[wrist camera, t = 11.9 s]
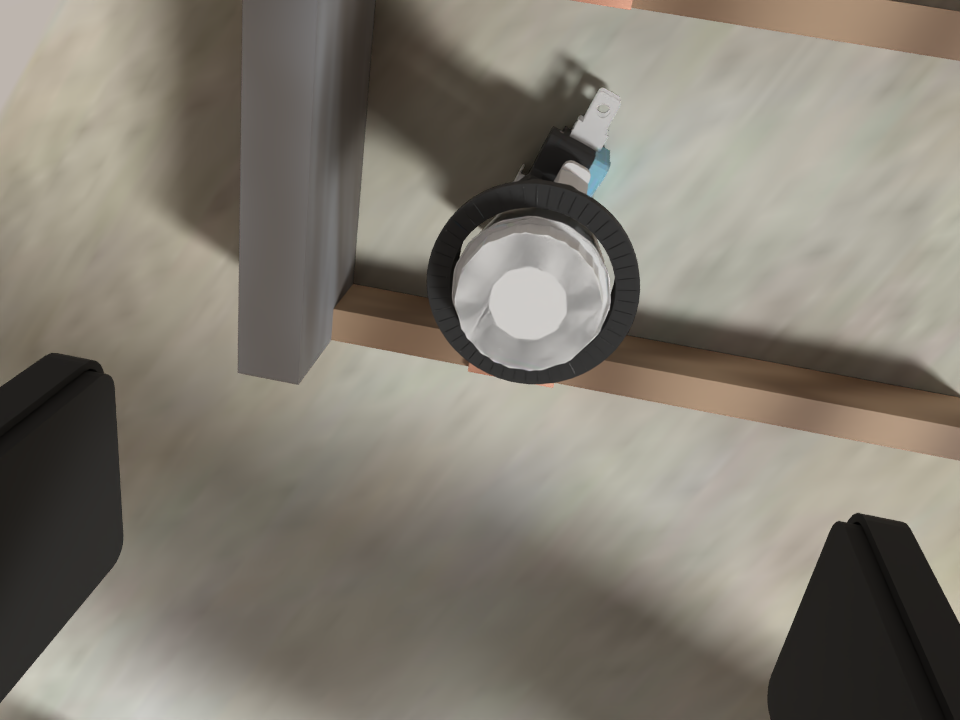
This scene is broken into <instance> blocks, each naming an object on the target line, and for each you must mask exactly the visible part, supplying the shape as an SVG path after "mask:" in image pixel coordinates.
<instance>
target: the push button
mask: <svg viewBox="0 0 960 720" xmlns="http://www.w3.org/2000/svg"><path fill="white" fill-rule="evenodd" d="M620 101H621V99H620V96H618V95H616V94H615V93H613V92H611V91H609V90H607V89H606V88H604V87H602V88H599V90H598V92H597V93H596V95H595V97H594V99H593V101H592V102H591V104H590V106H589V108H588V110H587V112H586V113H585V115H584V116H582V115H579V116H578V118H577V120H576V122H575V124H574V126H573V127H572V129H570V128H568V127H566V126H565V128H564V129H563V131H561V130H560V129H558V128H556V127H553V128H552V129H551V131H550V133H549V135H548V137H547V139H546V140H545V142H544V144H543V146H542V148H541V150H540V152H539V154H538V156H537V158H536V160H535V162H534V164H533V166H532V168H531V170H530V172H529V174H528V175H526V176H525V175H524V174H522V171H523V168H524V166H525V164H523V165H522V166H521V168H520V170H519V172H518V174H517V176H516V178H515V179H514V181H513V182H510V183H505V184H502V185H499V186H495V187H493V188H490V189H488V190H486V191H484V192H482V193H480V194H478V195H476V196H475V197H473V198H472V199H470V200H469V201H468V202H466V203H465V204H464V205H463V206H462V207H460V208H459V209H458V210H457V211H456V212H455V213H454V215H453V216H452V217H451V218H450V219H449V221H448V222H447V223H446V225H445V226H444V228H443V229H442V231H441V233H440V234H439V236H438V238H437V240H436V242H435V244H434V247H433V249H432V252H431V256H430V259H429V264H428V271H427V293H428V298H429V304H430V307H431V311H432V314H433V316H434V319H435V321H436V323H437V325H438V327H439V329H440V331H441V332H442V334H443V335H444V337H445V338H446V340H447V341H448V342H449V344H450V345H451V346H452V347H453V348H454V349H455V350H456V351H457V352H458V353H459V354H460V355H461V356H462V357H463V358H464V359H466V360H467V361H468V362H469V363H471V364H472V365H474V366H475V367H477V368H478V369H480V370H482V371H484V372H486V373H488V374H490V375H493V376H495V377H497V378H500V379H504V380H507V381H511V382H516V383H523V384H549V383H556V382H561V381H565V380H568V379H572V378H574V377H577V376H579V375H582V374H584V373H586V372H588V371H590V370H592V369H593V368H595V367H596V366H598V365H599V364H601V363H602V362H603V361H604V360H605V359H607V358H608V357H609V356H610V355H611V354H612V353H613V352H614V351H615V350H616V349H617V348H618V346H619V345H620V344H621V342H622V341H623V340H624V338H625V336H626V335H627V333H628V332H629V329H630V327H631V325H632V323H633V321H634V318H635V315H636V312H637V307H638V303H639V295H640V277H639V269H638V263H637V259H636V254H635V252H634V249H633V246H632V244H631V242H630V240H629V238H628V236H627V234H626V232H625V231H624V229H623V228H622V226H621V224H620V223H619V222H618V221H617V220H616V218H615V217H614V216H613V215H612V214H611V213H610V212H609V211H608V210H607V209H606V208H605V207H604V206H602V205H601V204H600V203H599V202H597V201H596V200H594V199H593V198H591V197H592V196H593V194H594V192H595V190H596V189H597V187H598V186H600V184H601V182H602V181H603V179H604V177H605V175H606V174H607V172H608V170H609V167H610V151H609V150H608V149H606V148H604V147H603V145H604V144H605V142H606V140H607V138H608V137H609V136H608V135H607V133H608V131H609V130H607V129H608V127H609V125H610V124H611V122H612V120H613V118H614V117H615V115H616V113H617V111H618V109H619V108H620V106H621V102H620ZM602 104H605V105H607V106H608V107H609V110H608V111H607V112H605V113H603V112H600V111H599V110H598V109H597V108H598V106H599V105H602ZM495 215H496V216H495ZM493 216H495V217H494V219H493V220H492V221H491V222H490V223H489V224H488V225H487V226H486V227H485V228H484V229H483V230H482V231H481V232H480V233H479V234H478V235H477V236H475V237H474V238H473V239H472V240H471V241H470V242H469V243H468V245H467V246H466V248H465V250H464V252H463V253H462V255H461V257H460V252H461V247H462V244H463V241H464V240H465V238H466V237H467V236H468V235H469V234H470V233H471V231H473V230H474V229H475V228H476V227H477V226H478V225H480V224H481V223H483V222H484V221H486V220H487V219H489V218H491V217H493ZM597 239H598V240H599V241H600V243H601V244H602V246H603V247H604V248H605V250H606V252H607V254H608V256H609V258H610V261H611V263H612V266H613V270H614V275H615V280H614V285H613V288H612V292H611V294H610V278H609V274H608V270H607V268H606V266H605V265H604V259H603V256H602V253H601V250H600V247H599V244H598V241H597Z"/></svg>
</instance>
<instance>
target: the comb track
mask: <svg viewBox="0 0 960 720" xmlns="http://www.w3.org/2000/svg"><path fill="white" fill-rule="evenodd" d="M572 1H578V2H585V3H591V4H597V5H603V6H609V7H615V8H622V9H628V10H631V8H637V9H643V10H650V11H656V12H662V13H668V14H674V15H680V16H687V17H693V18H699V19H705V20H711V21H717V22H724V23H730V24H736V25H742V26H748V27H754V28H761V29H767V30H773V31H779V32H785V33H791V34H798V35H804V36H810V37H816V38H822V39H829V40H835V41H841V42H847V43H853V44H859V45H866V46H872V47H878V48H884V49H890V50H896V51H903V52H909V53H915V54H921V55H927V56H933V57H940V58H946V59H952V60H958V61H960V11H953V10H947V9H941V8H934V7H928V6H922V5H916V4H909V3H903V2H897V1H890V0H572ZM374 12H375V0H243V7H242V84H241V160H240V237H239V314H238V373H241V374H246V375H251V376H256V377H261V378H267V379H272V380H277V381H282V382H287V383H292V384H297V385H299V383H300V382H301V380H302V379H303V378H304V376H305V375H306V374H307V372H308V371H309V370H310V368H311V367H312V365H313V364H314V363H315V361H316V360H317V359H318V357H319V356H320V354H321V353H322V352H323V350H324V349H325V348H326V346H327V345H328V344H329V342H330V341H331V340H335V341H340V342H345V343H351V344H356V345H361V346H366V347H371V348H377V349H382V350H387V351H392V352H397V353H403V354H408V355H413V356H418V357H423V358H429V359H434V360H439V361H444V362H449V363H455V364H460V365H465V366H469V368H468V371H469V372H474V373H479V374H484V375H489V376H493V375H490V374H488V373H486V372H484V371H482V370H480V369H478V368H477V367H475V366H474V365H472V364H471V363H469V362H468V361H467V360H466V359H464V358H463V357H462V356H461V355H460V354H459V353H458V352H457V351H456V350H455V349H454V348H453V347H452V346H451V345H450V344H449V342H448V341H447V340H446V338H445V337H444V335H443V334H442V332H441V331H440V329H439V327H438V325H437V323H436V321H435V319H434V316H433V314H432V311H431V307H430V304H429V298H426V297H420V296H415V295H410V294H404V293H399V292H394V291H388V290H383V289H378V288H372V287H367V286H362V285H356V284H353V279H354V267H355V254H356V241H357V228H358V216H359V203H360V190H361V177H362V165H363V152H364V139H365V127H366V114H367V101H368V88H369V76H370V63H371V50H372V37H373V25H374ZM556 383H559V384H564V385H569V386H574V387H580V388H585V389H590V390H595V391H600V392H606V393H611V394H616V395H621V396H626V397H632V398H637V399H642V400H647V401H652V402H658V403H663V404H668V405H673V406H678V407H684V408H689V409H694V410H699V411H704V412H710V413H715V414H720V415H725V416H730V417H736V418H741V419H746V420H751V421H756V422H762V423H767V424H772V425H777V426H782V427H788V428H793V429H798V430H803V431H808V432H814V433H819V434H824V435H829V436H834V437H840V438H845V439H850V440H855V441H861V442H866V443H871V444H876V445H881V446H887V447H892V448H897V449H902V450H907V451H913V452H918V453H923V454H928V455H933V456H939V457H944V458H949V459H954V460H959V461H960V398H959V397H954V396H948V395H943V394H938V393H932V392H927V391H922V390H916V389H911V388H906V387H900V386H895V385H890V384H884V383H879V382H874V381H868V380H863V379H858V378H852V377H847V376H842V375H836V374H831V373H826V372H820V371H815V370H810V369H804V368H799V367H794V366H788V365H783V364H778V363H772V362H767V361H762V360H756V359H751V358H746V357H740V356H735V355H730V354H724V353H719V352H714V351H708V350H703V349H698V348H692V347H687V346H682V345H676V344H671V343H666V342H660V341H655V340H650V339H644V338H639V337H634V336H628V335H626V336H625V338H624V340H623V341H622V342H621V344H620V345H619V346H618V348H617V349H616V350H615V351H614V352H613V353H612V354H611V355H610V356H609V357H608V358H607V359H605V360H604V361H603V362H602V363H601V364H599V365H598V366H596V367H595V368H593V369H592V370H590V371H588V372H586V373H584V374H582V375H579V376H577V377H574V378H572V379H568V380H565V381H561V382H556ZM536 385H541V386H546V387H552V388H553V386H554V383H549V384H536Z"/></svg>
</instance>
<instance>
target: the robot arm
mask: <svg viewBox="0 0 960 720" xmlns="http://www.w3.org/2000/svg"><path fill="white" fill-rule="evenodd" d="M122 545H123V522H122V505H121V488H120V472H119V455H118V438H117V421H116V404H115V387H114V381H113V379H112V377H111V376H109V375H108V374H104V372H103V369H102V367H101V365H100V364H99V363H98V362H97V361H94V360H89V359H84V358H79V357H74V356H69V355H64V354H59V353H51V354H48V355H46V356H44V357H43V358H42V359H40V360H39V361H37V362H36V363H34V364H33V365H31V366H30V367H29V368H27V369H26V370H24V371H23V372H21V373H20V374H19V375H17V376H16V377H14V378H13V379H11V380H10V381H8V382H7V383H6V384H4V385H3V386H1V387H0V703H1V701H2V700H3V699H4V698H5V697H6V695H7V694H8V693H9V692H10V691H11V689H12V688H13V687H14V686H15V685H16V683H17V682H18V681H19V680H20V679H21V677H22V676H23V675H24V674H25V672H26V671H27V670H28V669H29V668H30V666H31V665H32V664H33V663H34V662H35V660H36V659H37V658H38V657H39V656H40V654H41V653H42V652H43V651H44V650H45V648H46V647H47V646H48V645H49V643H50V642H51V641H52V640H53V639H54V637H55V636H56V635H57V634H58V633H59V631H60V630H61V629H62V628H63V627H64V625H65V624H66V623H67V622H68V621H69V619H70V618H71V617H72V616H73V615H74V613H75V612H76V611H77V610H78V608H79V607H80V606H81V605H82V604H83V602H84V601H85V600H86V599H87V598H88V596H89V595H90V594H91V593H92V592H93V590H94V589H95V588H96V587H97V586H98V584H99V583H100V582H101V581H102V579H103V578H104V577H105V576H106V575H107V573H108V572H109V571H110V570H111V569H112V567H113V566H114V565H115V563H116V562H117V560H118V557H119V555H120V552H121V549H122ZM768 709H769V714H770V719H771V720H960V624H959V622H958V620H957V618H956V616H955V614H954V612H953V610H952V608H951V606H950V604H949V602H948V600H947V598H946V597H945V595H944V593H943V591H942V589H941V587H940V585H939V583H938V581H937V579H936V577H935V575H934V573H933V571H932V569H931V568H930V566H929V564H928V562H927V560H926V558H925V556H924V554H923V552H922V550H921V548H920V546H919V544H918V542H917V541H916V539H915V537H914V535H913V533H912V531H911V529H910V528H909V526H908V525H907V524H906V523H904V522H900V521H895V520H890V519H885V518H880V517H875V516H870V515H865V514H860V513H856V514H854V515H853V516H852V517H851V518H850V519H849V520H848V522H847V523H846V522H841V521H838V522H836V523H835V524H834V525H833V526H832V528H831V530H830V532H829V535H828V537H827V540H826V542H825V544H824V547H823V549H822V552H821V554H820V557H819V559H818V562H817V564H816V567H815V569H814V571H813V574H812V576H811V579H810V581H809V584H808V586H807V589H806V591H805V594H804V596H803V598H802V601H801V603H800V606H799V608H798V611H797V613H796V616H795V618H794V621H793V623H792V625H791V628H790V630H789V633H788V635H787V638H786V640H785V643H784V645H783V648H782V650H781V652H780V655H779V657H778V660H777V662H776V665H775V667H774V670H773V672H772V675H771V678H770V681H769V686H768Z"/></svg>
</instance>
